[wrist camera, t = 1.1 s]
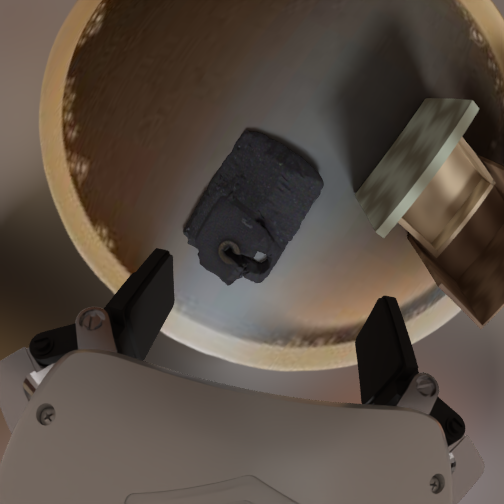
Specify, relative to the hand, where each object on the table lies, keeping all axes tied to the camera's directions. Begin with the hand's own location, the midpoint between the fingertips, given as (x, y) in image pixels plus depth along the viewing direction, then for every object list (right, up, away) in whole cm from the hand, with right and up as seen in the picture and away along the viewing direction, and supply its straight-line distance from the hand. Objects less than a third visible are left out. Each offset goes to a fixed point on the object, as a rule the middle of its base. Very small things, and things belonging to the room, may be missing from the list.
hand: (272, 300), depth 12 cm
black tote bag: (-1, +8, +28) cm, 29 cm away
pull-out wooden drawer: (+24, +12, +20) cm, 33 cm away
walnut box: (+34, +7, +22) cm, 41 cm away
